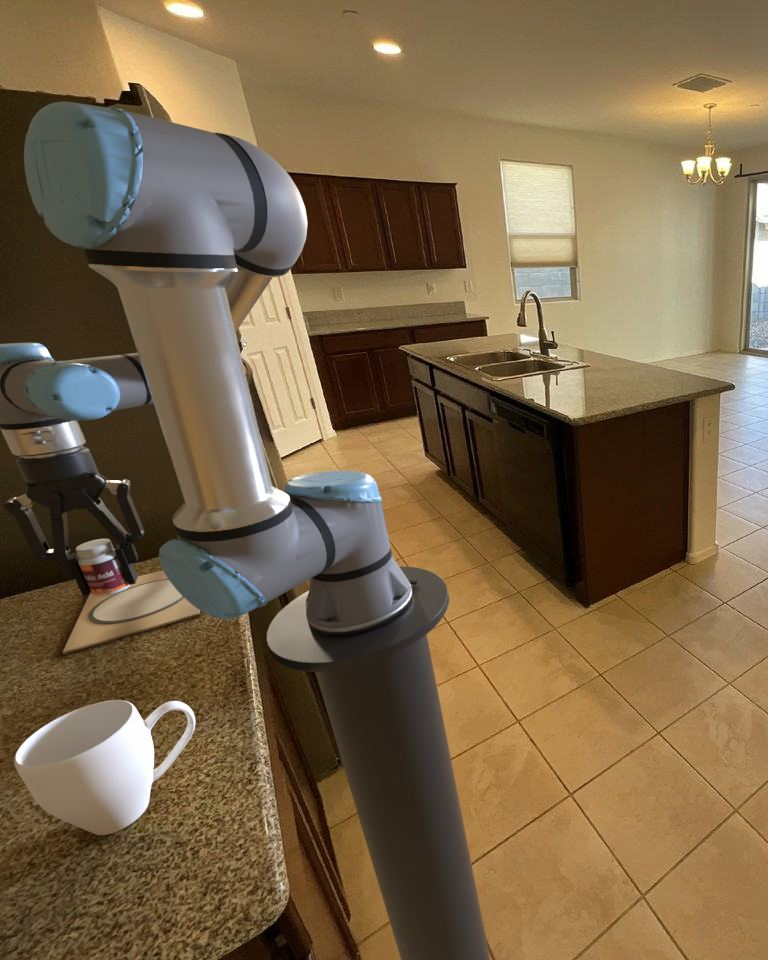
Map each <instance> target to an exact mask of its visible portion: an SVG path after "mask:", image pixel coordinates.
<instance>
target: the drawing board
mask: <svg viewBox="0 0 768 960" xmlns="http://www.w3.org/2000/svg"><path fill="white" fill-rule="evenodd" d="M137 576H138V578H137V581H136V584H132V585H130V586H129V587H128V588H126V589H125V590H123V591H121V592H119V593H116V594H113V595H109V596H102V597H96V596H93V595H92V593H90V595H88V597H87V598H86V601H85V603H84V605H83V607H82V610H81V612H80V614H79V616H78V618H77V620H76V622H75V624H74V627H73V629H72V630H71V633H70V635H69V637H68V639H67V641H66V644H65V646H64V648H63V650H62V654H63V655H66V654H70V653H73V652H77V651H80V650H84V649H87V648H90V647H93V646H97V645H100V644H101V645H102V644H104V643H107V642H111V641H115V640H118V639H121V638H125V637H128V636H132V635H136V634H140V633H143V632H146V631H149V630H153V629H156V628H161V627H164V626H167V625H171V624H174V623H177V622H181V621H184V620H187V619H188V620H189V619H192V618H195V617H198V616H200V615H201V611H200V610H199V609H197V608H196V607H195V606H193V605H192V604H191V603H190V602H188V601H187V600H186V599H185V598H184V597H183V596H182V595H181V594H180V593H179V592H178V591H177V590H176V588H175V587H174V586H173V585H172V583H171V582H170V581H169V579H168V578H167V576H166V575H165V573H164V571H163V569H162V570H159V571H155V572H151V573H150V572H149V573H147V574H146V573H145V574H142V575H137Z"/></svg>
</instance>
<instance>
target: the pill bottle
mask: <svg viewBox="0 0 768 960" xmlns="http://www.w3.org/2000/svg"><path fill="white" fill-rule="evenodd" d="M75 553H77V555H78V556H79V557H80V559H79V560H78V565H79V567H80V569H81V571H82V573H83V575H84V577H85V580H86V582H87V584H88V586H89V589H90V591H91V593H92V595H93V596H96V597H102V596H109V595H113V594H116V593H119V592H121V591H123V590H125V589H126V588H128V587H129V586H130V585H129V583H128V581H127V578H126V576H125V574H124V571H123V569H122V566H121V564H120V562H119V559H118V557H117V555H116V552H115V548H114V544H113V543H112V541H111V539H109V538H99V539H94V540H90V541H86V542H83V543H81V544H79V545H77V546H76V547H75Z"/></svg>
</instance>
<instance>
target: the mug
mask: <svg viewBox="0 0 768 960" xmlns="http://www.w3.org/2000/svg"><path fill="white" fill-rule="evenodd" d="M171 711H180V712H183V713H184V714H185V716H186V719H187V726H186V728H185V730H184V732H183V733H182V735H181V737H180V738H179V739H178V741H177V743H176V744H175V746H174V747H173V748H172V750H171V751H170V752H169V753H168V754H167V756H166V757H165V759H164V760H163V761H162V762H161V763H160V765H158V766H157V767H155V768H154V766H155V747H154V741H153V737H152V733H151V731H152V729H153V728H154V726H155V724H157V722H158V721H159V719H160V718H161V717H163V715H165V714H166V713H168V712H171ZM195 728H196V716H195V714H194V711H193V710H192V708H191V707H190V706H189V705H187V704H186V703H185V702H182V701H178V700H169V701H167V702H164V703H162V704H161V705H159V706H157V708H156V709H154V710H153V711H152V712H151V713H150V714H149V715H148V716H147V717H146V718H145V719H143V718H142V716H141V714H140V713H139V711H138V709H137V707H136V706H135V705H134V704H133V703H132V702H130V701H127V700H122V699H112V700H111V699H110V700H104V701H99V702H95V703H91V704H88V705H85V706H82V707H79V708H77V709H74V710H72V711H70V712H67V713H65V714H63V715H61V716H59V717H57V718H55V719H54V720H52V721H50V722H48V723H47V724H45V725H43V726H42V727H41V728H39V729H38V730H36V731H35V732H34V733H32V734H31V735H29V737H27V739H26V740H24V742H23V743H22V744H20V746H19V748H18V749H17V750H16V752H15V754H14V757H13V758H14V759H13V764H14V767H15V769H16V772H17V774H18V775H19V776H20V778H21V781H23V783H24V785H25V787H26V788H27V790H28V791H29V793H30V795H31V796H32V798H33V799H34V801H35V802H36V804H38V805H39V806H40V808H41V809H43V810H44V811H45V812H46V813H48V814H50V815H51V816H53V817H55V818H57V819H58V820H61V821H63V822H66V823H68V824H71V826H75V827H77V828H79V829H81V830H83V831H86V832H89V833H91V834H93V835H97V836H107V835H111V834H114V833H117V832H119V831H121V830H123V829H125V828H127V827H128V826H131V824H133V823H134V822H135V821H137V820H138V819H139V818H140V817H141V816H142V815H143V814H144V813H145V812H146V810H147V809H148V807H149V805H150V796H151V790H152V785H153V783H154V782H155V781H157V780H158V779H159V778H161V777H162V776H163V775H164V774H165V773H166V772H167V770H169V768H170V767H171V766H172V764H174V762H175V761H176V759H177V758H178V756H180V754H181V753H182V751H183V750H184V749H185V747H186V746H187V744H188V743H189V741H190V740H191V738H192V736H193V735H194V732H195Z"/></svg>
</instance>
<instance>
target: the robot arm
mask: <svg viewBox="0 0 768 960" xmlns="http://www.w3.org/2000/svg"><path fill="white" fill-rule="evenodd" d="M23 148H24V149H23V159H24V160H23V163H24V164H23V165H24V173H25V174H24V175H25V178H26V184H27V188H28V192H29V195H30V197H31V201H32V204H33V206H34V209H35V210H36V212H37V214H38V216H40V217H41V218H43V220H44V225H45V227H46V229H48V230H49V232H50V233H51V234H52V235H54V236H55V237H56V238H57V239H59V241H62V242H63V243H66V244H68V245H70V246H73V247H75V248H79V249H81V250H83V252H84V255H85V258H86V261H87V264H88V267H89V268H90V269H91V270H93V271H94V272H96V273H98V274H100V275H101V276H102V277H104V278H105V279H107V280H108V281H110V282H111V283H112V284H113V285H115V286H116V288H117V291H118V295H119V297H120V298H119V299H120V300H121V303H122V307H123V310H124V314H125V317H126V320H127V323H128V326H129V330H130V332H131V335H132V336H131V337H132V338H133V342H134V344H135V349H136V352H134V353H132V352H131V353H124V354H123V353H122V354H116V355H107V356H106V355H104V356H95V357H87V358H85V357H84V358H77V359H67V360H55V359H54V358H53V357H52V356H51V354H50V352H49V350H48V348H47V347H46V346H44V344H41V343H39V342H12V343H0V431H1V433H2V435H3V438H4V439H5V442H6V443H7V446H8V448H9V450H10V452H11V454H12V455H14V456H18V457H17V458H16V460H15V463H16V465H17V468H18V469H19V471H20V474H21V476H22V478H23V480H24V482H25V484H26V490H25V493H24V494H22V495H20V496H14V497H11V498H9V499H8V500H7V501H6V502H4V504H3V508H4V509H5V510H6V511H7V512H8V513H9V514H10V515H12V516H13V517H14V518H15V520H16V522H17V524H18V526H19V528H20V530H21V532H22V534H23V536H24V538H25V540H26V543H27V545H28V546H29V549H30V550H31V553H32V555H33V556H34V557H33V558H34V559H35V560H36V561H37V562H44V561H55V562H56V563H57V565H58V567H59V569H60V571H61V573H62V576H63V577H64V578H66V579H70V578H74V580H75V582H76V584H77V586H78V588H79V591H80V592H81V595H82V597H86V596H89V595H90V593H91V591H90V589H89V586H88V584H87V582H86V580H85V577H84V575H83V573H82V571H81V569H80V567H79V565H78V560H79V559H80V557H79V556H78V555H77V552H72V553H70V552H71V549H70V542H69V541H70V540H69V539H70V538H69V524H68V523H69V522H68V513H70V512H71V511H74V510H86V511H87V512H88V513H89V514H90V515H92V516H93V517H94V518H95V519H96V520H97V521H98V523H99V524H100V525H101V526H102V528H104V529H105V531H106V532H107V533H108V534H109V535H110V536H111V538H112V539H113V540H114V541H115V542H116V546H115V548H114V549H115V552H116V555H117V557H118V559H119V562H120V564H121V566H122V569H123V571H124V574H125V576H126V578H127V581H128V583H129V585H132V584H136V581H137V578H138V576H139V575H138V574H137V571H136V569H135V567H134V564H136V563H137V562H138V560H139V555H138V552H137V550H136V547H135V544H134V543H135V542H137V541H141V540H142V539H143V538H144V535H145V528H144V526H143V524H142V521H141V519H140V516H139V514H138V511H137V508H136V506H135V504H134V501H133V498H132V496H131V494H130V491H131V480H130V479H127V478H122V479H121V480H111V479H106V477H105V476H104V475H102V474H101V473H100V471H99V470H98V468H97V465H96V463H95V460H94V458H93V456H92V453H91V451H90V449H89V448H88V447H86V446H84V445H85V444H86V442H87V440H86V438H85V436H84V433H83V431H82V428H81V426H80V424H79V422H81V421H93V420H97V419H102V418H104V417H105V416H107V415H109V414H111V412H116V411H120V410H126V409H132V408H137V407H142V406H146V405H152V404H153V405H154V408H155V409H154V410H155V412H156V415H157V418H158V421H159V425H160V428H161V430H162V433H163V437H164V440H165V443H166V447H167V450H168V454H169V457H170V460H171V463H172V466H173V469H174V472H175V475H176V478H177V483H178V485H179V488H180V491H181V492H180V493H181V495H182V498H183V501H184V502H183V503H182V504H181V506H180V507H179V508H178V509H177V510H176V511H175V513H174V514H173V515H172V524H173V526H174V529H175V532H176V535H177V537H176V539H175V538H173V539H169V540H167V541H166V542H165V543H164V544H162V545H161V546H160V547H159V551H158V552H159V553H158V560H159V561H158V562H159V564H160V567H161V569H162V570H163V571H164V573H165V575H166V576H167V578H168V579H169V581H170V582H171V583H172V585H173V586H174V587H175V588H176V590H177V591H178V592H179V593H180V594H181V595H182V596H183V597H184V598H185V599H186V600H187V601H188V602H190V603H191V604H192V605H193V606H195V607H196V608H197V609H199V610H200V612H202V613H203V614H205V615H207V616H209V617H212V618H215V619H218V620H233V619H237V618H240V617H242V616H244V615H245V614H248V613H249V612H252V611H253V610H256V609H258V608H263V607H265V606H266V605H267V604H268V603H269V602H271V601H272V600H274V599H276V598H278V597H280V596H282V595H283V594H286V593H287V592H289V591H290V590H293V589H294V588H296V587H298V586H300V585H302V584H303V583H305V582H306V581H309V585H308V591H309V592H308V596H307V599H306V603H307V608H306V617H307V621H308V624H309V627H310V629H311V630H312V631H313V632H315V633H316V634H318V635H321V636H326V637H349V636H355V635H360V634H364V633H367V632H370V631H373V630H376V629H378V628H381V627H383V626H385V625H387V624H389V623H391V622H392V621H394V620H395V619H397V618H398V617H400V616H401V615H402V614H403V613H404V612H405V611H406V610H407V609H408V608H409V607H410V605H411V603H412V601H413V593H412V588H411V585H416V584H417V580H414V579H407V578H406V576H405V575H404V573H403V572H402V570H401V569H400V567H399V566H400V565H399V564H398V563H397V561H396V560H395V558H394V556H393V552H392V547H391V541H390V538H389V537H390V536H389V533H388V527H387V523H386V517H385V513H384V507H383V498H382V497H381V494H380V491H379V488H378V484H377V481H376V480H375V479H374V477H373V476H371V475H370V474H368V473H365V472H361V471H353V470H329V471H319V472H312V473H307V474H302V475H297V476H295V477H292V478H290V479H289V480H288V481H286V482H285V484H284V489H283V490H281V489H279V488H278V487H275V486H273V483H272V479H271V475H270V470H269V466H268V461H267V457H266V453H265V449H264V445H263V440H262V437H261V433H260V429H259V424H258V419H257V416H256V411H255V408H254V403H253V399H252V395H251V392H250V391H251V390H250V388H249V382H248V379H247V374H246V371H245V366H244V362H243V358H242V353H241V350H240V349H241V348H240V346H239V342H238V341H239V340H238V336H237V331H238V330H239V328H240V327H241V325H242V324H243V322H244V321H245V319H246V318H247V317H248V315H249V313H250V312H251V311H252V309H253V307H254V306H255V305H256V303H257V302H258V300H259V299H260V297H261V296H262V294H263V293H264V291H265V290H266V288H267V287H268V285H269V284H270V282H271V281H272V280H273V278H280V277H282V276H285V275H286V274H288V273H289V272H290V271H291V269H292V268H293V267H294V265H295V264H296V262H297V260H298V258H299V257H300V255H301V253H302V252H303V249H304V246H305V243H306V240H307V233H308V216H307V210H306V206H305V204H304V201H303V197H302V195H301V192H300V191H299V189H298V187H297V185H296V183H295V182H294V180H293V179H292V177H291V176H290V174H289V173H288V172H287V171H286V170H285V169H284V168H283V167H282V165H280V163H279V162H278V161H277V160H276V159H274V158H273V157H272V156H271V155H270V154H268V153H267V152H266V151H265V150H263V149H261V148H260V147H258V146H257V145H254V144H253V143H251V142H249V141H247V140H244V139H243V138H241V137H237V136H233V135H230V134H226V133H222V132H213V131H209V130H205V129H201V128H196V127H192V126H189V125H185V124H181V123H177V122H173V121H170V120H169V121H168V120H165V119H161V118H157V117H152V116H148V115H144V114H139V113H136V112H132V111H127V110H124V109H121V108H115V107H110V106H107V107H106V106H101V105H93V104H85V103H79V102H73V101H57V102H52V103H49V104H47V105H45V106H44V107H42V108H41V109H40V110H38V111H37V112H36V113H35V115H34V116H33V117H32V119H31V121H30V123H29V126H28V130H27V133H26V134H25V140H24V147H23ZM105 489H108V490H109V492H110V493H111V495H114V496H116V501H117V503H118V506H119V509H120V511H121V513H122V517H123V518H124V520H125V523H126V525H127V528H128V530H129V532H128V531H127V530H126V529H125V527H124V526H123V525H122V524H121V523H120V522H119V520H118V519H117V518H116V517H115V516H114V514H112V513H111V511H110V510H109V509H108V508H107V506H106V505H105V502H104V501H103V500H102V499H101V498H100V497H101V495H102V494H103V492H104V490H105ZM32 501H33V502H35V503H37V504H39V505H41V506H43V507H45V508H47V509H49V518H50V522H51V537H52V548H51V546H50V544H49V543H48V541H47V539H46V536H45V534H44V532H43V530H42V528H41V525H40V523H39V522H38V521H39V520H37V517H36V516H35V515H36V514H35V513H34V511H33V509H32V507H33V503H32ZM305 606H306V605H305Z"/></svg>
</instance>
